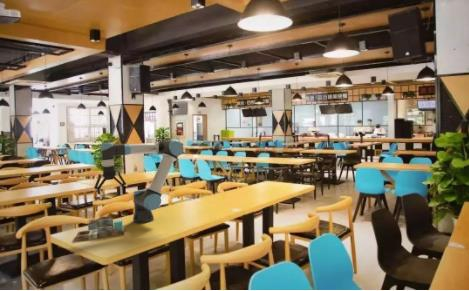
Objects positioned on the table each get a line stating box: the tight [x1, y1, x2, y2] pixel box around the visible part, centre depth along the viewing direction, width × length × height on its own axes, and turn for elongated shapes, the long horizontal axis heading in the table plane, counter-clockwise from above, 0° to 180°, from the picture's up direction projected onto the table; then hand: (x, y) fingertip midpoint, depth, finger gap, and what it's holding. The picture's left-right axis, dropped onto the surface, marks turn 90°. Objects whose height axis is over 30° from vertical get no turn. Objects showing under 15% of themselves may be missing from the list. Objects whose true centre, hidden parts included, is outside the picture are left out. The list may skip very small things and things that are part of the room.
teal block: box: [113, 219, 124, 230], centre depth 237 cm, size 5×5×5 cm
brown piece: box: [75, 218, 126, 242], centre depth 234 cm, size 29×12×9 cm, turn 106°
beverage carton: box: [87, 216, 112, 230], centre depth 253 cm, size 8×19×7 cm, turn 171°
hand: (111, 197), depth 239 cm, fingers open, 13 cm apart
